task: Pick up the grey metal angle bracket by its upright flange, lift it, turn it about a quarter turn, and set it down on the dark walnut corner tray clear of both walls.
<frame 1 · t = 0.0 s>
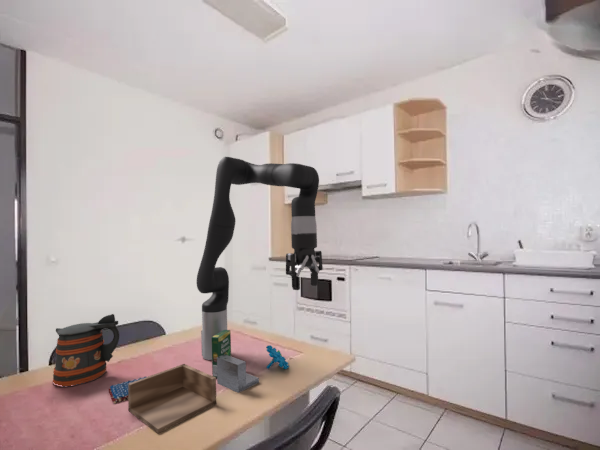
hand: (305, 287, 93), 29 cm above the table, tool pointing down, fingers open, 8 cm apart
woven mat: (130, 393, 94), on the table
coffee box: (222, 373, 105), on the table
corner arena: (173, 407, 84), on the table
gear: (277, 368, 108), on the table
beer stein: (88, 376, 106), on the table
bracket: (231, 386, 96), on the table
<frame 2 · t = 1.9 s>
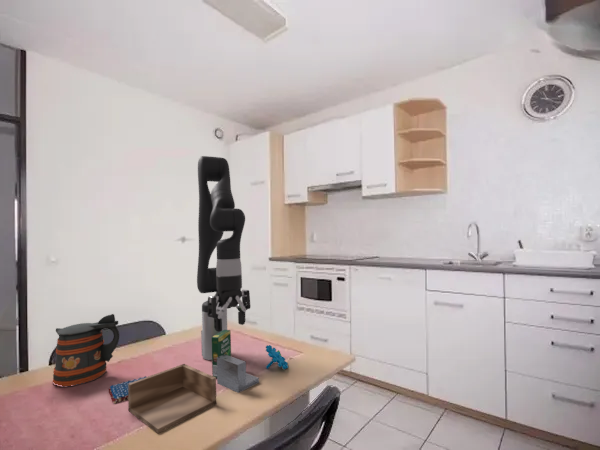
hand: (230, 327, 96), 17 cm above the table, tool pointing down, fingers open, 8 cm apart
nothing on the table moved.
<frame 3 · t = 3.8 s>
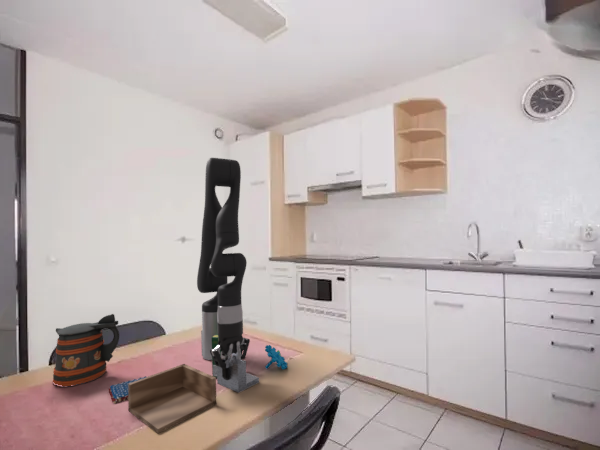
hand: (231, 376, 96), 3 cm above the table, tool pointing down, fingers closed on bracket, 3 cm apart
bracket: (231, 386, 96), on the table, touching gripper
everything else where it was.
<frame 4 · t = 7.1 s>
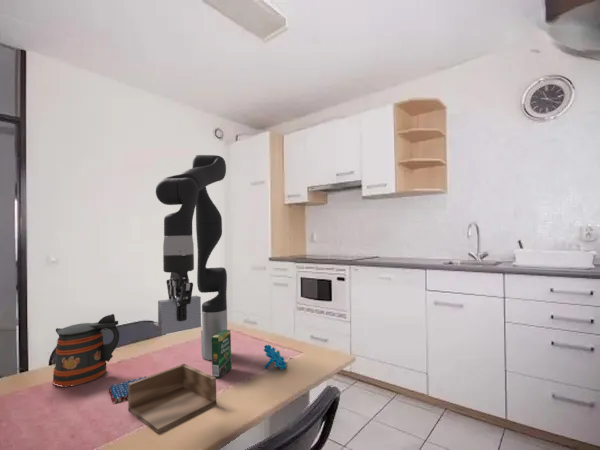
hand: (179, 319, 83), 24 cm above the table, tool pointing down, fingers closed on bracket, 3 cm apart
bracket: (180, 329, 83), point 21 cm above the table, touching gripper
everything else where it was.
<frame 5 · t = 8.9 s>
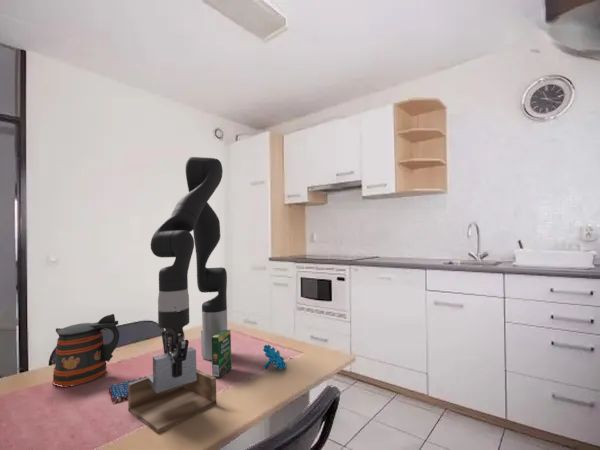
hand: (174, 374, 82), 10 cm above the table, tool pointing down, fingers closed on bracket, 3 cm apart
bracket: (175, 384, 82), point 7 cm above the table, touching gripper
everything else where it was.
when the fingers open (5 cm above the table, at t = 10.2 s): bracket stays where it is, resting on corner arena.
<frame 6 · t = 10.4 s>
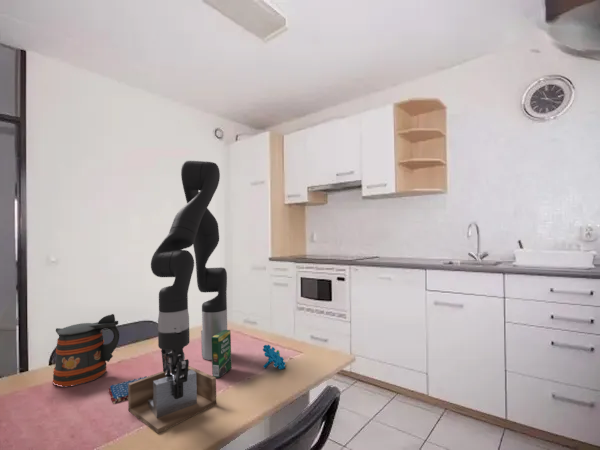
hand: (175, 393, 82), 5 cm above the table, tool pointing down, fingers open, 4 cm apart
bracket: (175, 408, 82), point 1 cm above the table, touching corner arena
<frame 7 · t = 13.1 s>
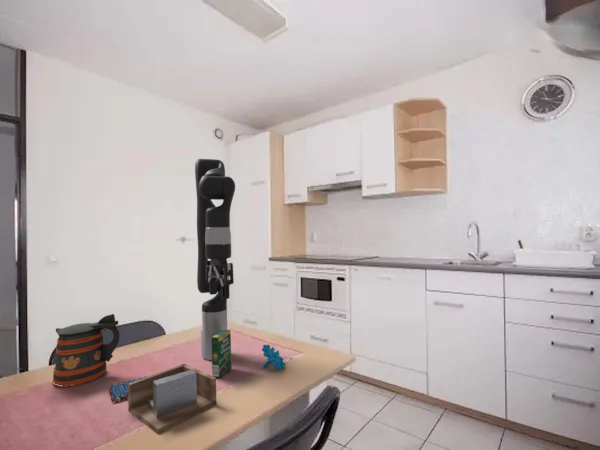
hand: (219, 296, 96), 27 cm above the table, tool pointing down, fingers open, 8 cm apart
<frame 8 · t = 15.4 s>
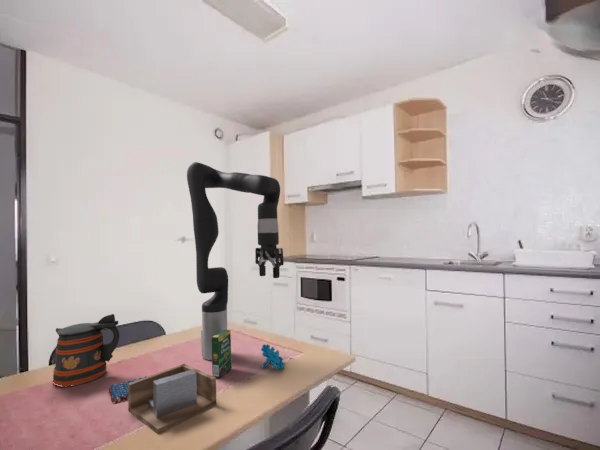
hand: (269, 277, 114), 30 cm above the table, tool pointing down, fingers open, 8 cm apart
at the end: bracket inside the target area on the corner arena (0.2 cm from its centre), point 1.0 cm above the corner arena's base; bracket tilted 0°; the gripper is holding nothing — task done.
